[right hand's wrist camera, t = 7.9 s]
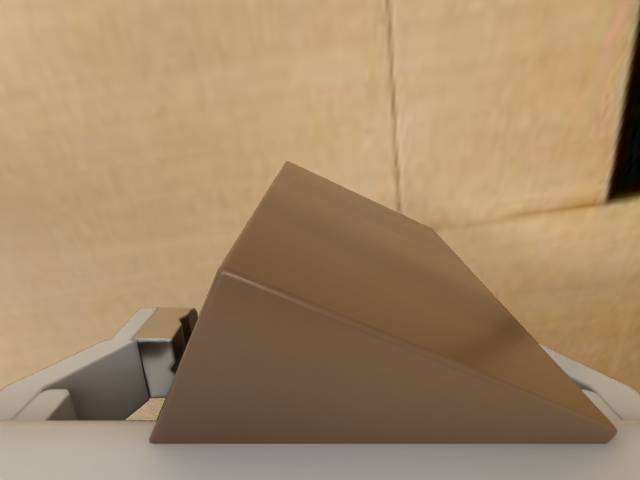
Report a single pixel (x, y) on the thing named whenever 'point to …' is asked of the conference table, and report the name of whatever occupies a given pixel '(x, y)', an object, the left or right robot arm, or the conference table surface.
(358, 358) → the bar
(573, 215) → the conference table surface
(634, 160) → the conference table surface
